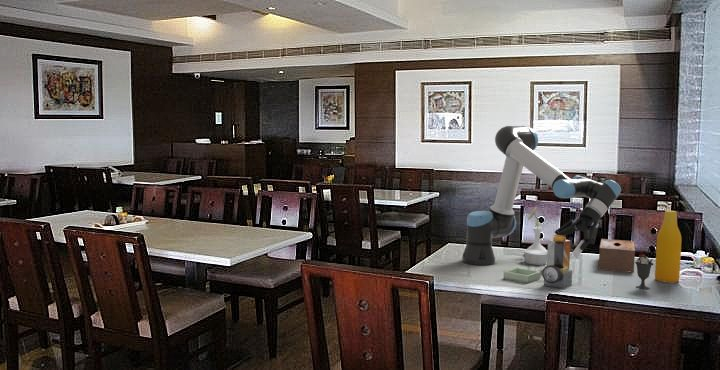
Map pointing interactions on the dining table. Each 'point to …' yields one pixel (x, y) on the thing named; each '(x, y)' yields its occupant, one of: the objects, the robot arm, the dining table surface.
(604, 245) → the tissue box cover
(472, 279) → the dining table surface
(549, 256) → the small box
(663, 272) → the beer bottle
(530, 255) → the ramekin
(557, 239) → the orange capped bottle
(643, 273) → the sundae
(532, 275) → the tray
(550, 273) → the tensioner block
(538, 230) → the flower in vase
